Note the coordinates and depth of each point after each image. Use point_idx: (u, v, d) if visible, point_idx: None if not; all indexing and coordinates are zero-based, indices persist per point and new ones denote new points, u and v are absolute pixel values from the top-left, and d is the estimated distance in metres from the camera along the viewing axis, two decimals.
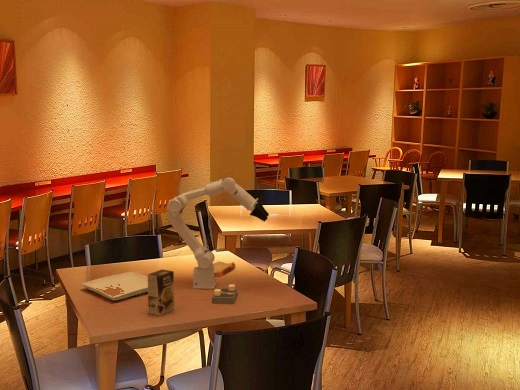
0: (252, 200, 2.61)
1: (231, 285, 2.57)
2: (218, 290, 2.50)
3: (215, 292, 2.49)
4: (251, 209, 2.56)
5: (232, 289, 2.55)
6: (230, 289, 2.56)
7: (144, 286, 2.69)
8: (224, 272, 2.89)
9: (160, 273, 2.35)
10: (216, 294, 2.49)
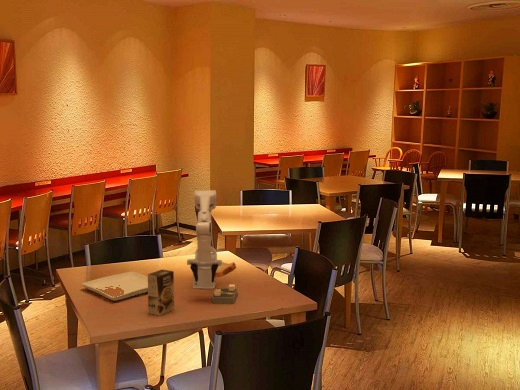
0: (199, 259, 2.47)
1: (231, 285, 2.57)
2: (218, 290, 2.50)
3: (215, 292, 2.49)
4: None
5: (232, 289, 2.55)
6: (230, 289, 2.56)
7: (144, 286, 2.69)
8: (224, 272, 2.89)
9: (160, 273, 2.35)
10: (216, 294, 2.49)
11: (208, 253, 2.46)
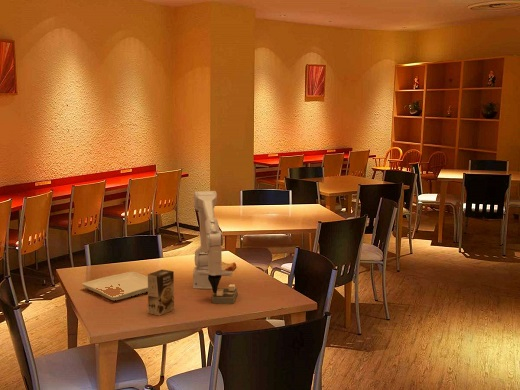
0: (209, 270, 2.47)
1: (231, 285, 2.57)
2: (220, 290, 2.50)
3: (217, 292, 2.49)
4: None
5: (232, 289, 2.55)
6: (230, 289, 2.56)
7: (144, 286, 2.69)
8: None
9: (160, 273, 2.35)
10: (218, 294, 2.49)
11: (218, 264, 2.47)
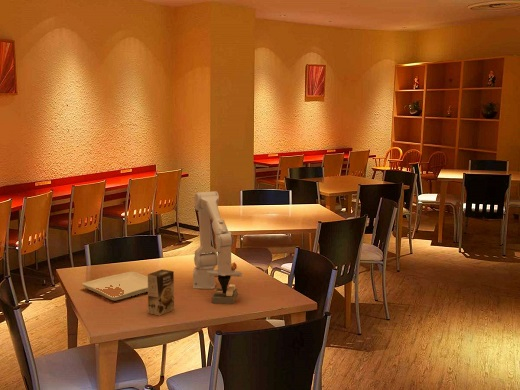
0: (219, 270, 2.47)
1: (231, 285, 2.57)
2: (230, 290, 2.50)
3: (227, 292, 2.49)
4: None
5: (232, 289, 2.55)
6: None
7: (144, 286, 2.69)
8: None
9: (160, 273, 2.35)
10: (228, 294, 2.49)
11: (228, 264, 2.46)
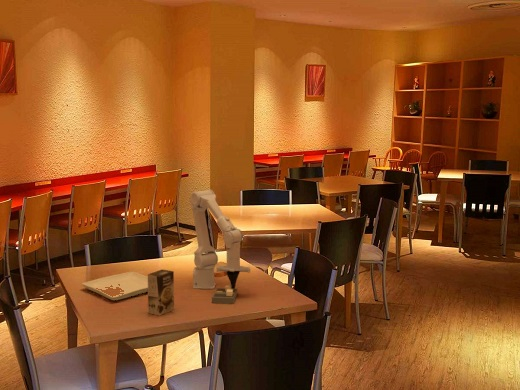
0: (228, 266, 2.53)
1: (228, 285, 2.57)
2: (230, 290, 2.50)
3: (227, 292, 2.49)
4: None
5: None
6: None
7: (144, 286, 2.69)
8: (226, 272, 2.89)
9: (160, 273, 2.35)
10: (228, 294, 2.49)
11: (237, 260, 2.53)
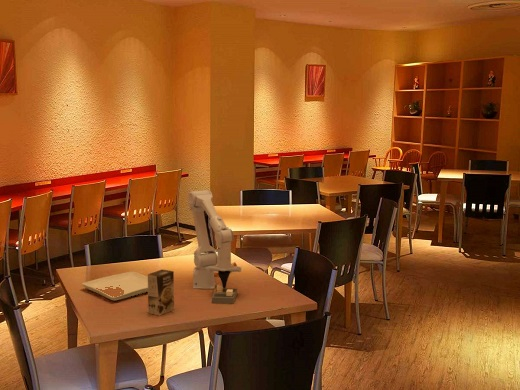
0: (219, 266, 2.54)
1: (219, 285, 2.57)
2: (230, 290, 2.50)
3: (227, 292, 2.49)
4: None
5: (220, 289, 2.56)
6: (218, 289, 2.56)
7: (144, 286, 2.69)
8: None
9: (160, 273, 2.35)
10: (228, 294, 2.49)
11: (228, 260, 2.53)
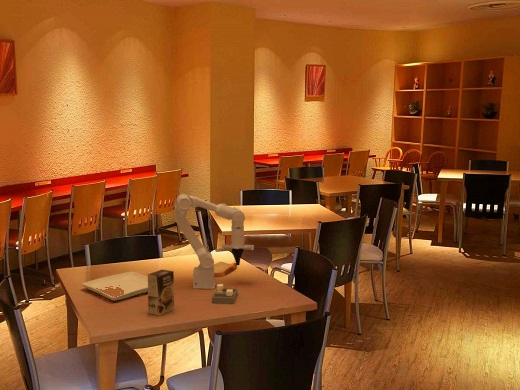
0: (233, 244, 2.69)
1: (219, 285, 2.57)
2: (230, 290, 2.50)
3: (227, 292, 2.49)
4: (222, 247, 2.72)
5: (220, 289, 2.56)
6: (218, 289, 2.56)
7: (144, 286, 2.69)
8: (226, 272, 2.89)
9: (160, 273, 2.35)
10: (228, 294, 2.49)
11: (241, 238, 2.68)
